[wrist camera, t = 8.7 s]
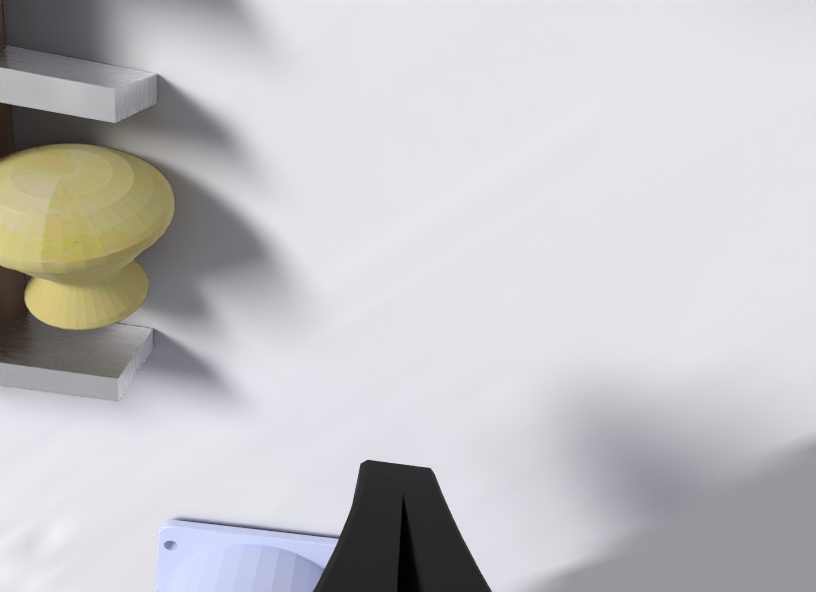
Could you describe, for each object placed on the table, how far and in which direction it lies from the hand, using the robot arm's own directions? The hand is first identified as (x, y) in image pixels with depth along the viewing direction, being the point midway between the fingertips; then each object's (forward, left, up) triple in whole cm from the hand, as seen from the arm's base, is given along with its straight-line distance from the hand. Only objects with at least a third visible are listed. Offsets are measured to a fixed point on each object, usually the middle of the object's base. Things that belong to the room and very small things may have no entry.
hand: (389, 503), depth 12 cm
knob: (+1, +9, -10) cm, 13 cm away
